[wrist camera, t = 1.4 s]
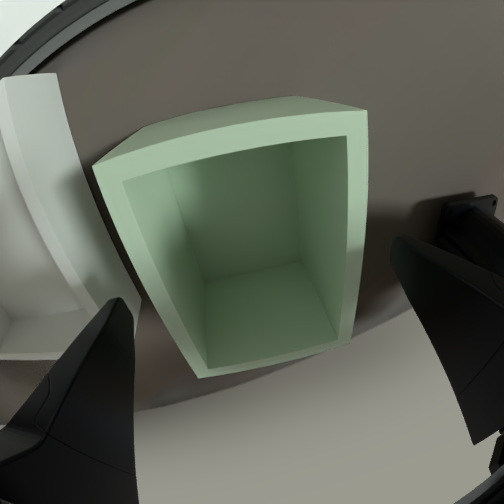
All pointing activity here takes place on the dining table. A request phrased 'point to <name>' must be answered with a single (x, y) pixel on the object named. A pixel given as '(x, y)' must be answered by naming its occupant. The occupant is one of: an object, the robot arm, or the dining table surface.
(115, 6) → the laptop
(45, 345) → the big crate
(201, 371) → the small crate
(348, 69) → the dining table surface
